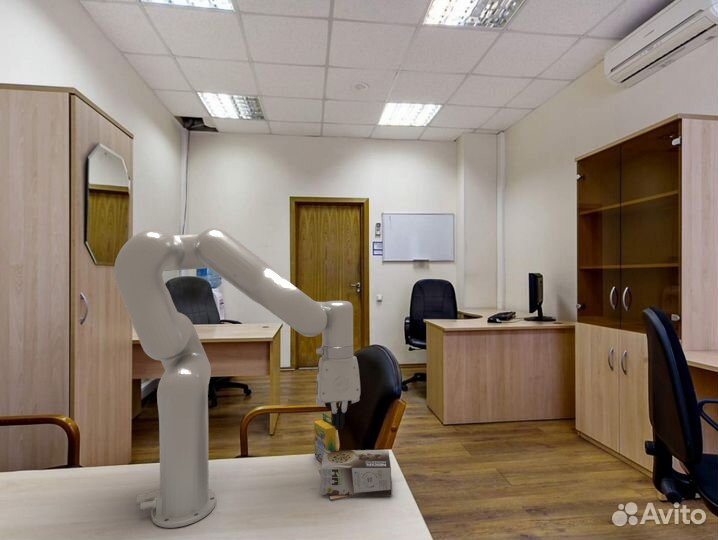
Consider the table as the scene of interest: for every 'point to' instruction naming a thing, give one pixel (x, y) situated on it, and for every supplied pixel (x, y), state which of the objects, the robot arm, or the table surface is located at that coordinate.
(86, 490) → the table surface
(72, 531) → the table surface
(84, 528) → the table surface
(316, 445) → the crayon box
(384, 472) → the coffee box
